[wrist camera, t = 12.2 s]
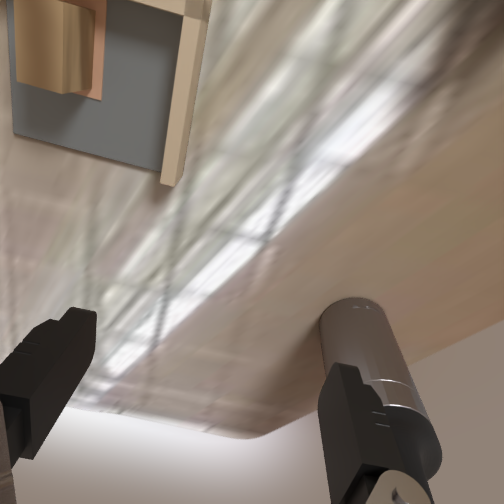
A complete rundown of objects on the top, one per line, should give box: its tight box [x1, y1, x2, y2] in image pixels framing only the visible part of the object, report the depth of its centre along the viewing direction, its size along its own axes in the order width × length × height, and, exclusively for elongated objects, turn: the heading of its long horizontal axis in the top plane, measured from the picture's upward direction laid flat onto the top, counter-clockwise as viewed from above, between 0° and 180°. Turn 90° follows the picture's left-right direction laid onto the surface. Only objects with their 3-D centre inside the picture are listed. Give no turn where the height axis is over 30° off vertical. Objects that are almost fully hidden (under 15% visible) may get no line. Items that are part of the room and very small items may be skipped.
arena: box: [6, 0, 212, 187], centre depth 36 cm, size 18×19×4 cm
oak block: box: [14, 0, 96, 94], centre depth 34 cm, size 4×7×6 cm, turn 165°
